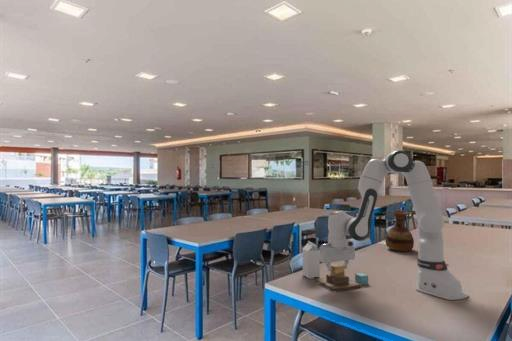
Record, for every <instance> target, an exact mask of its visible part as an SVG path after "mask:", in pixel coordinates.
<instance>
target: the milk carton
mask: <svg viewBox="0 0 512 341" xmlns="http://www.w3.org/2000/svg"><path fill="white" fill-rule="evenodd" d="M319 254H320V249H318V247H317V244H315V243H314V242H311V241H310V240H307V243H306V244H305V245H304V246H303V247H302V276H303V277H305V276H306V277H307V278H306V277H305V278H306V279H308V278H309V279H315V278H314V277H319V278H320V276H321V275H320V274H321V272H320V271H321V268H320V264H321V262H320V260H319Z"/></svg>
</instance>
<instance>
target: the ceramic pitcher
mask: <svg viewBox="0 0 512 341" xmlns="http://www.w3.org/2000/svg"><path fill="white" fill-rule="evenodd" d="M392 214H394V216H395V223H394V226H392V227H391V228H390V229H389V230H388V231H387V233H386V237H385V245H386V247H387V248H389V249H391V250H395V251H397V250H398V251H397V252H408V251H411V250H413V248H414V246H415V244H414V243H415V242H414V240H415V239H414V237H413V234H412V233H411V231H410V229H409V228H408V227H406V226H405V218H406V216H407V215H408V214H409V212H408V211H406V210H393V211H392Z"/></svg>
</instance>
